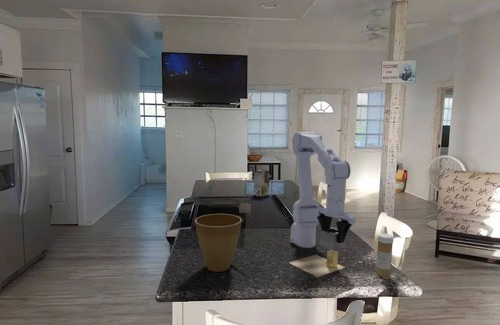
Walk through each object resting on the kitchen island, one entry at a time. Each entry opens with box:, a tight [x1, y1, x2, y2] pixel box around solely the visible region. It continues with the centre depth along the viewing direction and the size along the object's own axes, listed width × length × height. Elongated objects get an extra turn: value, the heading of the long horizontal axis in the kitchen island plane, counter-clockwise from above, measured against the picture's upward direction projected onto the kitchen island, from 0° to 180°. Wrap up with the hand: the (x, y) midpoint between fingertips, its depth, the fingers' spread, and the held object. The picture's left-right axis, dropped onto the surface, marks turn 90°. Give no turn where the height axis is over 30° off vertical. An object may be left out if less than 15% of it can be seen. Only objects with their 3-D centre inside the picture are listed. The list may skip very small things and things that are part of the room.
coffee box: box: [253, 169, 270, 198], centre depth 225 cm, size 9×6×16 cm
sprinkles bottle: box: [375, 233, 394, 280], centre depth 109 cm, size 5×5×13 cm
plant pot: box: [194, 213, 243, 273], centre depth 113 cm, size 15×15×16 cm
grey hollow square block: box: [319, 226, 346, 251], centre depth 113 cm, size 6×6×5 cm
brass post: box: [326, 249, 339, 268], centre depth 114 cm, size 2×2×6 cm
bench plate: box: [288, 254, 346, 278], centre depth 115 cm, size 13×13×1 cm
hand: (333, 239), depth 113 cm, fingers closed on grey hollow square block, 6 cm apart
